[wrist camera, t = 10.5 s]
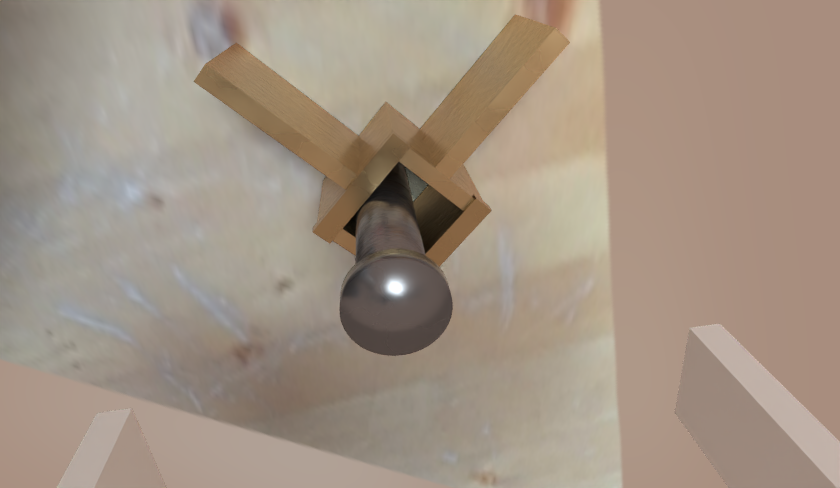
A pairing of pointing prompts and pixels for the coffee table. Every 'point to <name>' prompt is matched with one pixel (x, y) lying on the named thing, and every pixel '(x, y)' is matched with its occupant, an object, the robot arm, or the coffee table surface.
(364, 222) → the hinge pin
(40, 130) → the coffee table surface
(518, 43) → the hinge
